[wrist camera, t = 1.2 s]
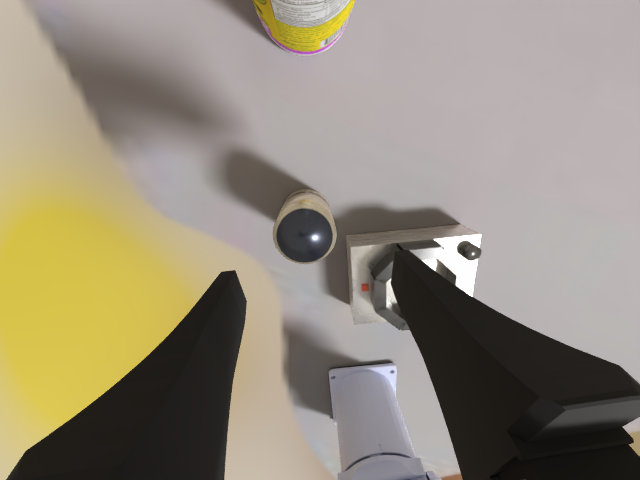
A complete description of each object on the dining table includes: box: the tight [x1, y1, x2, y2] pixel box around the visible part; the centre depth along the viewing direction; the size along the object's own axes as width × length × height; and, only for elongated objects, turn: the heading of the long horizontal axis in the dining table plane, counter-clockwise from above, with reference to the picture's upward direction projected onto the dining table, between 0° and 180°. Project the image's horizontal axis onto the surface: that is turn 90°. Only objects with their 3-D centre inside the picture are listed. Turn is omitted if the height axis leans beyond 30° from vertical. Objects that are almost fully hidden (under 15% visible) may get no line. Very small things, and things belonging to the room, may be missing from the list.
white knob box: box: [346, 224, 481, 330], centre depth 23 cm, size 8×11×4 cm
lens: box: [273, 189, 337, 264], centre depth 20 cm, size 4×4×6 cm
